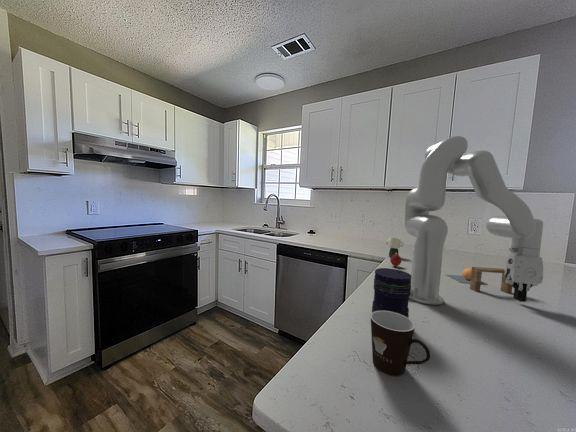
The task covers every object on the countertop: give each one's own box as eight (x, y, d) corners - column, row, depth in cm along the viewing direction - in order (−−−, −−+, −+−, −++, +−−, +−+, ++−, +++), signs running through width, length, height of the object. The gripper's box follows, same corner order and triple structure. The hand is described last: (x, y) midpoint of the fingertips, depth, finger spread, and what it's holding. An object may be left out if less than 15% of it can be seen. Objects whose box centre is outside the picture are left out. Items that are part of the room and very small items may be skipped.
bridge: (511, 293, 98) (514, 270, 97) (474, 291, 99) (477, 268, 98) (505, 290, 101) (507, 268, 100) (469, 288, 102) (471, 266, 101)
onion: (402, 268, 129) (403, 254, 129) (391, 267, 130) (392, 253, 130) (399, 265, 135) (400, 252, 135) (388, 264, 136) (389, 251, 136)
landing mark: (461, 282, 109) (461, 282, 109) (445, 274, 121) (445, 274, 121) (487, 284, 108) (487, 284, 108) (468, 276, 120) (468, 275, 120)
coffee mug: (361, 352, 54) (364, 310, 53) (396, 352, 55) (399, 310, 54) (386, 393, 42) (390, 340, 42) (431, 392, 43) (435, 340, 42)
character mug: (403, 257, 157) (405, 238, 156) (400, 259, 151) (402, 239, 150) (386, 255, 164) (388, 236, 163) (383, 256, 158) (384, 237, 157)
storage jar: (391, 335, 61) (396, 280, 61) (363, 318, 70) (367, 269, 69) (415, 327, 66) (419, 276, 65) (386, 312, 75) (390, 266, 74)
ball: (459, 267, 117) (460, 279, 116) (466, 268, 112) (468, 281, 111) (472, 267, 116) (474, 280, 115) (480, 268, 111) (482, 281, 110)
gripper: (513, 252, 82) (507, 303, 83) (557, 255, 81) (551, 306, 83) (495, 248, 90) (490, 294, 91) (535, 250, 89) (530, 297, 90)
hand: (519, 300), depth 87 cm, fingers closed
